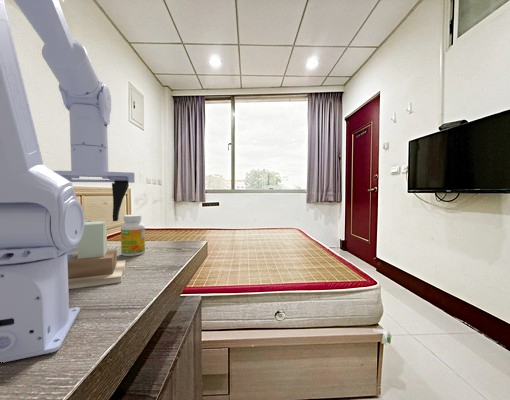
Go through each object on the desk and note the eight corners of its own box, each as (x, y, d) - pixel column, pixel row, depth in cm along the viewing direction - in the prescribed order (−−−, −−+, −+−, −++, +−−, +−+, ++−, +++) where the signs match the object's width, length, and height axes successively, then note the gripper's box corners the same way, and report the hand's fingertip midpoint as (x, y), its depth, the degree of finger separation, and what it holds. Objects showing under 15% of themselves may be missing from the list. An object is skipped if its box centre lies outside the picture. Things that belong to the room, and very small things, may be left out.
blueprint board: (121, 282, 44) (120, 259, 44) (50, 291, 40) (49, 266, 40) (126, 264, 54) (125, 246, 54) (69, 270, 50) (69, 250, 50)
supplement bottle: (117, 256, 60) (116, 216, 60) (126, 251, 66) (125, 214, 65) (140, 256, 61) (139, 216, 61) (148, 250, 66) (147, 214, 66)
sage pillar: (103, 256, 46) (102, 223, 46) (77, 258, 44) (76, 225, 44) (107, 251, 50) (106, 221, 49) (83, 253, 48) (82, 222, 48)
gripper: (134, 152, 53) (136, 217, 53) (48, 148, 47) (51, 221, 48) (132, 147, 46) (134, 221, 47) (32, 142, 40) (36, 226, 41)
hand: (92, 221), depth 47 cm, fingers open, 7 cm apart
